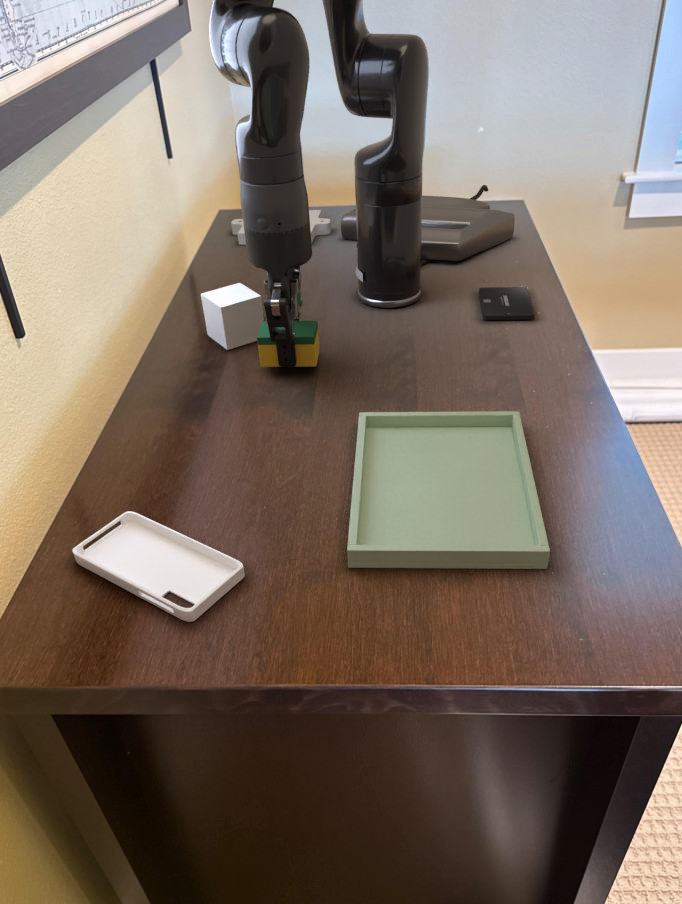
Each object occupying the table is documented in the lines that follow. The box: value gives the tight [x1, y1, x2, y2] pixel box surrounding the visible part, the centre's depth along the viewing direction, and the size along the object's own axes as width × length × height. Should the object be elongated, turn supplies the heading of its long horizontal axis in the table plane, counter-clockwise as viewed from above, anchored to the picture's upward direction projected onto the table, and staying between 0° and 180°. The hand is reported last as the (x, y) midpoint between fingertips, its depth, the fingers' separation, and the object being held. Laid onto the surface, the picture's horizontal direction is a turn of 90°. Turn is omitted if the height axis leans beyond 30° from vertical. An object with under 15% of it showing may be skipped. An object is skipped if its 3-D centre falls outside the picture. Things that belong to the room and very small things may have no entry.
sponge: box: [256, 320, 321, 368], centre depth 97 cm, size 5×7×4 cm, turn 86°
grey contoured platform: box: [340, 194, 516, 262], centre depth 133 cm, size 28×5×28 cm
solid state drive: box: [478, 286, 536, 321], centre depth 111 cm, size 7×10×1 cm
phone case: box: [71, 511, 246, 623], centre depth 70 cm, size 7×1×15 cm
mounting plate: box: [230, 209, 332, 246], centre depth 140 cm, size 18×13×2 cm
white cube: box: [200, 282, 265, 351], centre depth 105 cm, size 6×6×6 cm
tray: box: [346, 410, 551, 570], centre depth 77 cm, size 24×18×2 cm
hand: (290, 355), depth 98 cm, fingers closed on sponge, 4 cm apart
